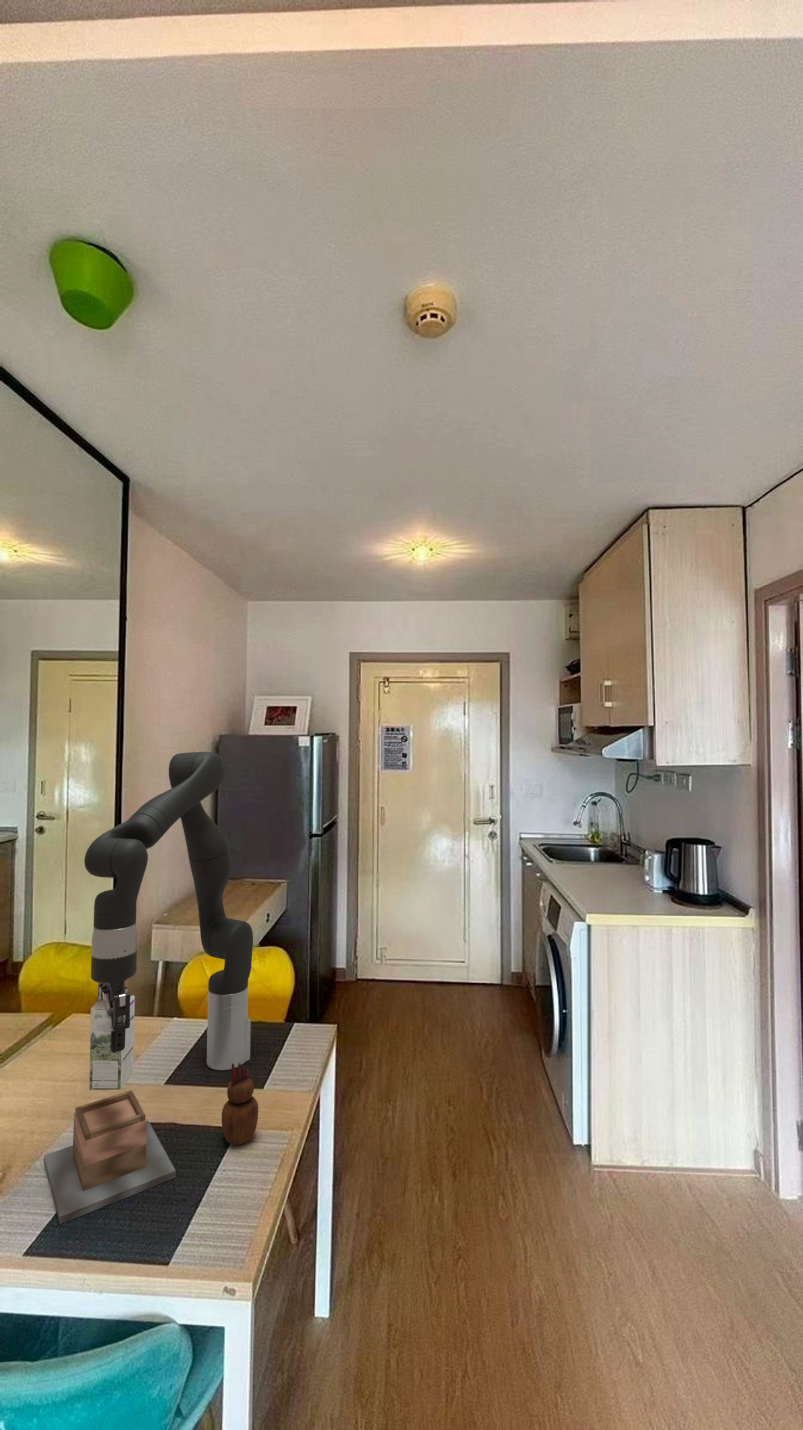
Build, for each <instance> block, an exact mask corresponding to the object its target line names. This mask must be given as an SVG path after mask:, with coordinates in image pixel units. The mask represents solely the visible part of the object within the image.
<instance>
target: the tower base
mask: <svg viewBox="0 0 803 1430" xmlns="http://www.w3.org/2000/svg"><path fill="white" fill-rule="evenodd" d="M72 1130H73V1136H72V1145H70V1146H67V1147H64V1148H62V1149H61V1148H60V1149H59V1150H56V1151H53V1152H50V1153H46V1154H44V1155H43V1163H44V1166H45V1167H44V1168H45V1172H46V1176H47V1179H48V1184H49V1188H50V1192H51V1196H52V1199H53V1204H54V1208H55V1211H56V1216H57V1219H58V1223H59V1225H62V1224H65V1223H68V1222H69V1221H72V1220H75V1219H77V1218H80V1217H82V1216H84V1215H87V1214H89V1213H92V1212H94V1211H97V1210H98V1209H102V1208H105V1207H106V1206H109V1205H112V1204H114V1203H117V1202H119V1201H122V1200H124V1199H126V1198H128V1197H132V1196H133V1195H136V1194H138V1193H142V1192H144V1191H146V1190H149V1189H151V1188H153V1187H156V1186H159V1185H161V1184H163V1183H166V1182H169V1181H170V1180H173V1179H175V1178H176V1173H177V1172H176V1168H175V1166H174V1165H173V1163H172V1161H171V1160H170V1157H169V1156H168V1154H167V1152H166V1150H165V1148H164V1147H163V1145H162V1143H161V1141H160V1139H159V1137H158V1136H157V1134H156V1132H155V1130H154V1129H153V1127H152V1125H151V1123H150V1121H149V1119H146V1113H145V1111H144V1110H143V1107H142V1106H141V1105H140V1102H139V1100H138V1098H137V1097H136V1095H135V1092H134V1091H133V1090H132V1089H131V1090H128V1091H125V1092H121V1093H118V1094H115V1095H112V1096H111V1095H110V1096H109V1097H105V1098H103V1099H99V1100H96V1101H92V1102H89V1103H86V1104H83V1105H79V1106H76V1107H75V1111H74V1112H73V1129H72Z"/></svg>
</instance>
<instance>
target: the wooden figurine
mask: <svg viewBox="0 0 803 1430" xmlns="http://www.w3.org/2000/svg"><path fill="white" fill-rule="evenodd" d="M245 1067H246V1066H245V1065H244V1066H242V1065H241V1064H240V1063H239V1064H238V1067H237V1069H236V1068H235V1067H234V1064H233V1063H232V1069H231V1077H230V1082H229V1083H228V1085H227V1090H226V1095H227V1099H228V1100H227V1101H226V1102H225V1104H223V1107H222V1111H221V1125H222V1132H223V1135H224V1138H225V1140H226V1142H227V1143H228V1144H229V1145H234V1146H239V1145H243V1144H246V1143H247V1142H249V1141H250V1140H251V1139H252V1138H253V1137H254V1134H255V1133H256V1129H257V1126H258V1119H259V1104H258V1101H257V1099H256V1098H255V1096H254V1095H253V1094H254V1090H255V1085H254V1081H253V1080H252V1079H251V1078H250V1072H249V1069H248V1068H246V1069H245ZM236 1070H237V1071H236Z"/></svg>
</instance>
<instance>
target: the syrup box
mask: <svg viewBox="0 0 803 1430" xmlns="http://www.w3.org/2000/svg"><path fill="white" fill-rule="evenodd" d="M135 998H136V997H135V995H130V1027H129V1028H127V1029H125V1048H124V1049H123V1050H121V1051H118V1052H114V1053H113V1052H112V1051H111V1029H110V1019H108V1018H107V1017H106V1009H105V1003H104V1002H103V999H99V1000H98V999H97V1001H96V1002H95V1003H94V1004H93V1005H92V1007H91V1008H90V1031H89V1033H90V1035H89V1036H90V1037H89V1042H90V1043H89V1083H88V1084H89V1087H88V1088H89V1091H99V1090H100V1091H101V1090H102V1091H106V1090H107V1091H109V1090H111V1091H114V1090H116V1091H117V1090H118V1091H119V1090H122V1089H123V1088H124V1086H125V1085H126V1084H127V1083H128V1081H129V1080H130V1078H131V1077H132V1076H133V1075H134V1041H135V1040H134V1033H135V1031H134V1030H135V1007H136V1005H135V1003H136V1001H135V1000H136V999H135ZM110 1010H111V1011H113V1008H110ZM121 1021H123V1016H119V1017H118V1022H121Z"/></svg>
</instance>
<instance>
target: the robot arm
mask: <svg viewBox="0 0 803 1430" xmlns="http://www.w3.org/2000/svg"><path fill="white" fill-rule="evenodd" d="M225 772H226V771H225V764H224V761H223V758H222V757H221V756H220V755H219V754H218V753H216V752H212V751H195V752H194V751H192V752H180V753H176V754H174V755H173V756H172V757H171V759H170V761H169V765H168V778H169V784H170V789H167V790H166V791H163V792H162V793H160V794H157V795H156V796H154V797H152V798H151V799H149V800H148V801H146V802H145V803H144V804H143V805H141V806H140V807H139V808H138V809H137V810H136V811H135V812H134V813H133V814H132V815H131V816H130V817H129V818H128V819H127V820H126V821H124V822H122V823H120V824H118V825H116V826H114V827H112V828H110V829H109V830H107V831H105V832H104V833H102V834H100V835H99V836H97V838H95V840H93V841H92V843H90V845H89V846H88V848H87V850H86V851H85V854H84V859H83V862H84V867H85V870H86V871H87V873H89V874H90V875H91V876H94V877H97V878H110V879H117V883H116V885H115V887H114V888H112V889H107V890H104V891H102V892H100V893H98V894H97V895H96V896H95V899H94V903H93V929H92V935H91V936H92V937H91V951H90V952H91V953H90V955H91V956H90V959H91V960H90V979H91V980H92V981H93V982H94V983H97V984H98V985H97V1001H98V1000H99V999H103V1002H104V1003H105V1009H106V1017H107V1018H108V1019H110V1029H111V1051H112V1052H113V1053H114V1052H118V1051H121V1050H123V1049H124V1048H125V1029H127V1028H129V1027H130V996H131V994H130V992H129V990H128V986H126V985H125V982H126V980H128V979H131V978H132V977H133V976H135V974H136V973H137V965H138V962H137V961H138V959H137V958H138V957H137V956H138V930H137V903H138V897H139V894H140V890H141V885H142V882H143V879H144V875H145V872H146V870H147V866H148V862H149V854H148V849H151V848H152V847H153V846H155V844H158V842H159V841H160V840H161V839H162V837H163V836H164V835H165V834H166V833H167V832H168V830H169V829H170V828H171V827H173V825H174V824H175V823H176V822H177V821H178V820H180V821H181V825H182V829H183V834H184V841H185V843H186V845H185V846H186V850H187V856H188V861H189V865H190V871H191V875H192V880H193V884H194V891H195V897H196V901H197V902H196V903H197V910H198V921H199V923H198V924H199V931H200V934H199V935H200V942H201V946H202V949H203V951H204V953H205V954H206V955H207V956H209V957H211V958H215V959H219V960H220V959H221V960H224V964H223V965H224V966H223V969H221V970H218V971H216V972H213V973H212V974H211V975H210V976H209V978H208V980H207V981H208V983H207V985H208V987H207V1026H206V1027H207V1034H206V1037H207V1039H206V1065H207V1067H208V1068H209V1069H213V1070H215V1071H228V1070H232V1063H233V1064H234V1067H235V1069H237V1068H238V1064H239V1063H240V1064H241V1066H242V1065H243V1064H244V1063H246V1062H247V1061H250V1060H251V1026H252V1025H251V1024H252V1023H251V1021H252V1020H251V1019H250V1017H249V1016H248V1007H249V1006H248V1003H249V1002H248V1001H249V998H248V997H249V996H248V995H249V979H250V975H251V971H252V964H253V963H252V962H253V961H252V959H253V948H254V947H253V946H254V933H253V932H254V931H253V928H252V926H251V924H250V923H249V922H247V921H245V920H239V919H234V918H228V917H227V916H226V912H225V909H224V901H223V898H224V896H223V895H224V892H225V889H226V887H227V885H228V882H229V880H230V878H231V874H232V870H233V862H232V857H231V851H230V846H229V841H228V839H227V837H226V836H225V834H224V833H223V831H222V830H221V828H220V827H219V826H218V825H217V824H216V822H215V821H214V820H213V819H212V818H211V817H210V816H209V814H208V813H207V812H206V809H204V806H203V804H202V803H201V802H202V801H203V800H204V799H205V798H207V797H209V796H210V795H211V794H212V793H214V792H215V791H217V790H218V789H219V788H220V786H221V785H222V783H223V781H224V779H225V774H226V773H225ZM110 1008H113V1011H111V1010H110ZM119 1016H123V1021H121V1022H118V1017H119Z"/></svg>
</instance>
